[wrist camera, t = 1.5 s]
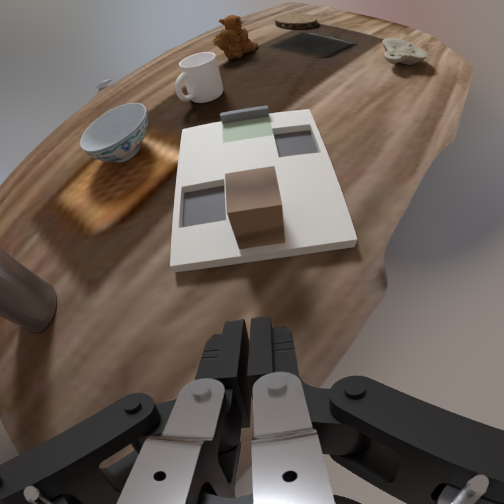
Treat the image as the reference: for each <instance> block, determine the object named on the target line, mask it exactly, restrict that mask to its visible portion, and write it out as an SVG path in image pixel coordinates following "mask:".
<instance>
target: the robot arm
mask: <svg viewBox="0 0 504 504" xmlns="http://www.w3.org/2000/svg"><path fill="white" fill-rule="evenodd" d="M56 303H57V300H56V293H55V290H54V288H53V287H52V286H51V285H50V284H48V283H47V282H45V281H44V280H42V279H41V278H40V277H38V276H37V275H36V274H34V273H33V272H31V271H30V270H29V269H27V268H26V267H25V266H23V265H22V264H21V263H19V262H18V261H17V260H15V259H14V258H13V257H11V256H10V255H9V254H7V253H6V252H5V251H4V250H2V249H1V248H0V316H1V317H3V318H5V319H7V320H9V321H11V322H13V323H15V324H17V325H19V326H21V327H23V328H25V329H27V330H29V331H31V332H35V333H37V332H41V331H42V330H44V329H45V328H46V327H47V326H48V325H49V324H50V322H51V320H52V318H53V316H54V313H55V310H56ZM201 358H202V359H201V361H200V364H199V367H198V371H197V374H196V377H195V380H194V381H192V382H190V383H188V384H187V385H185V386H184V387H183V388H182V389H181V391H180V393H179V395H178V398H177V399H175V400H172V401H168V402H163V403H159V404H155V403H154V401H153V399H152V398H151V397H150V396H149V395H146V394H142V393H135V394H130V395H127V396H125V397H123V398H121V399H120V400H118V401H116V402H115V403H113V404H111V405H110V406H108V407H106V408H105V409H103V410H101V411H100V412H98V413H96V414H94V415H93V416H91V417H89V418H88V419H86V420H84V421H82V422H81V423H79V424H77V425H75V426H73V427H72V428H70V429H68V430H66V431H64V432H63V433H61V434H59V435H57V436H55V437H54V438H52V439H50V440H48V441H46V442H44V443H42V444H40V445H39V446H37V447H35V448H33V449H31V450H29V451H27V452H25V453H23V454H21V455H19V456H17V457H15V458H13V459H11V460H9V461H7V462H5V463H3V464H1V465H0V504H361V503H359V502H356V501H354V500H352V499H349V498H345V497H342V496H338V495H333V493H332V489H331V485H330V481H329V477H328V474H327V470H326V465H325V462H324V458H323V454H329V455H330V457H331V458H332V459H333V460H334V461H336V462H337V463H339V464H340V465H341V466H343V467H345V468H346V469H348V470H349V471H351V472H352V473H354V474H356V475H358V476H359V477H361V478H362V479H364V480H366V481H367V482H369V483H371V484H372V485H374V486H376V487H378V488H379V489H381V490H383V491H385V492H386V493H388V494H390V495H392V496H394V497H396V498H397V499H399V500H401V501H403V502H405V503H407V504H504V430H500V429H497V428H494V427H491V426H488V425H486V424H483V423H480V422H477V421H474V420H471V419H469V418H466V417H463V416H460V415H458V414H455V413H452V412H450V411H447V410H444V409H442V408H439V407H437V406H434V405H432V404H429V403H427V402H424V401H422V400H419V399H417V398H414V397H412V396H410V395H407V394H405V393H403V392H400V391H398V390H396V389H393V388H391V387H389V386H386V385H384V384H382V383H379V382H377V381H375V380H373V379H370V378H368V377H364V376H349V377H346V378H343V379H341V380H339V381H337V382H336V383H335V384H334V385H333V386H332V387H331V389H322V388H315V387H312V386H309V385H307V384H305V383H304V382H303V381H302V380H301V378H300V377H299V372H298V366H297V360H296V354H295V348H294V343H293V336H292V332H290V331H289V330H288V329H287V328H286V327H278V328H272V324H271V318H270V316H266V317H258V318H251V328H250V343H249V338H248V333H247V328H246V323H245V320H244V319H242V320H233V321H225V324H224V329H223V333H222V334H218V335H213V336H212V337H211V338H210V339H209V340H208V341H207V342H206V344H205V347H204V352H203V354H202V357H201ZM251 395H252V399H253V412H254V434H255V438H252V472H253V494H251V495H246V496H242V497H237V498H236V496H235V485H236V479H237V473H238V466H239V460H240V453H241V445H242V444H241V440H240V436H241V428H248V427H250V413H251ZM129 444H131V445H132V446H133V448H134V449H135V450H134V451H133V452H131V453H130V454H128V455H127V456H125V457H124V458H122V459H121V460H119V461H118V462H116V463H114V464H113V465H111V466H110V467H108V468H105V469H101V468H99V465H100V464H101V462H103V461H104V460H106V459H107V458H109V457H110V456H112V455H114V454H115V453H117V452H118V451H120V450H122V449H123V448H125V447H126V446H128V445H129Z"/></svg>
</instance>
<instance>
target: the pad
mask: <svg viewBox="0 0 504 504" xmlns="http://www.w3.org/2000/svg"><path fill="white" fill-rule="evenodd" d="M222 131H223V143H226V142H232V141H238V140H244V139H250V138H257V137H264V136H271V135H274V134H273V130H272V126H271V122H270V118H269V117H263V118H256V119H249V120H243V121H237V122H231V123H225V124H222Z"/></svg>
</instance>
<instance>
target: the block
mask: <svg viewBox="0 0 504 504" xmlns="http://www.w3.org/2000/svg"><path fill="white" fill-rule="evenodd" d="M225 187H226V207H227V215H228V218H229V221H230V224H231V227H232V230H233V233H234V236H235V239H236V242H237V245H238V248H239V249H246V248H253V247H260V246H267V245H274V244H281V243H285V234H284V221H283V208H282V201H281V196H280V191H279V186H278V181H277V176H276V171H275V166H271V167H264V168H257V169H251V170H245V171H238V172H232V173H227V174H225Z"/></svg>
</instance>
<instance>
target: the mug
mask: <svg viewBox="0 0 504 504" xmlns="http://www.w3.org/2000/svg"><path fill="white" fill-rule="evenodd" d="M179 66H180V69H181V73H182V74H181V75H180V76H179V77H178V79H177V81H176V85H175V90H176V94H177V96H178V97H179V99H181V100H182V101H190V100H192V101H193V102H195V103H206V102H210V101H213V100H215V99H217V98H218V97H220V96H221V94H222V93H223V86H222V81H221V77H220V73H219V68H218V64H217V60H216V56H215V54H214V53H211V52H202V53H197V54H194V55H191V56H188V57H186V58H184V59H183V60H182V61H181V62H180V63H179ZM183 81H184V82H185V85H186V88H187V91H188V95H187V96H185V95H184V94H183V93H182V82H183Z"/></svg>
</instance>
